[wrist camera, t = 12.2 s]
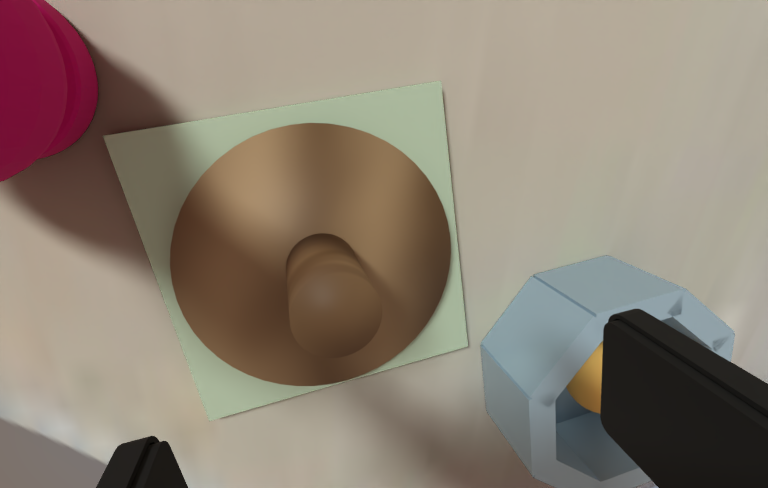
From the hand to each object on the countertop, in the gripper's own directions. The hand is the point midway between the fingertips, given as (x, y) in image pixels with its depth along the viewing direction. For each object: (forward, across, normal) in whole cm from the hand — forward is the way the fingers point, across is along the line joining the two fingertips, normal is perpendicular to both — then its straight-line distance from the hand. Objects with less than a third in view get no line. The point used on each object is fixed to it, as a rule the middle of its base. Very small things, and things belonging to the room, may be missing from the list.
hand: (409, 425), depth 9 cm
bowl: (+13, -13, +10) cm, 21 cm away
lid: (+12, +1, 0) cm, 12 cm away
